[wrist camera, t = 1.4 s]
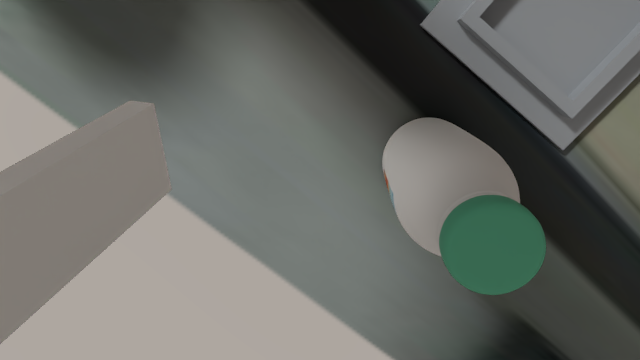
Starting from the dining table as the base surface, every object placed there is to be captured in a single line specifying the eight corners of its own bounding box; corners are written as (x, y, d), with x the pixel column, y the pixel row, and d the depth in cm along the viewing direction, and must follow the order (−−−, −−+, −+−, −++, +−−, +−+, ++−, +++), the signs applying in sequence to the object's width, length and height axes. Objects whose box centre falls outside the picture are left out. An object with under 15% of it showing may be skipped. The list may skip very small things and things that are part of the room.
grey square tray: (419, 25, 37) (423, 23, 35) (568, -154, 33) (581, -168, 31) (559, 149, 39) (571, 153, 37) (716, -8, 35) (738, -13, 33)
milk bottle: (372, 128, 39) (393, 191, 20) (461, 106, 38) (574, 149, 19) (392, 210, 41) (428, 342, 22) (477, 191, 40) (596, 310, 21)
